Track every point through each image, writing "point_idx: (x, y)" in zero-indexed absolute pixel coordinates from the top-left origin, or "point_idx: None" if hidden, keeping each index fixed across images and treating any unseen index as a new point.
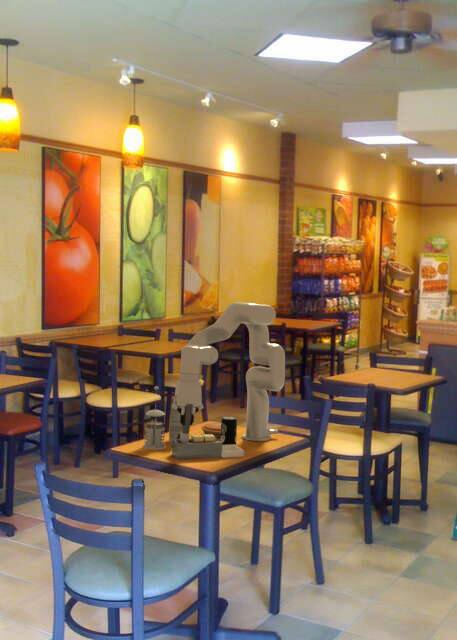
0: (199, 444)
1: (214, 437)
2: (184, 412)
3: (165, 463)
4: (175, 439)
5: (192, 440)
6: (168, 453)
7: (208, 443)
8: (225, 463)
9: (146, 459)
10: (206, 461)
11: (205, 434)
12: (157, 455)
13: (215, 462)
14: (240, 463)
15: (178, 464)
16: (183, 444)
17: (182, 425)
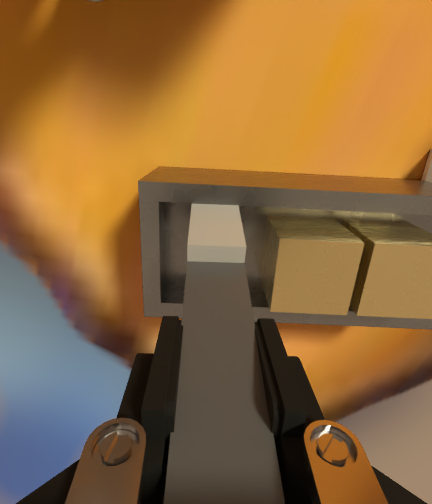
0: (287, 318)
1: (425, 313)
2: (166, 500)
3: (90, 319)
4: (161, 186)
5: (269, 263)
6: (145, 133)
7: (347, 323)
8: (347, 370)
9: (4, 235)
10: (284, 328)
11: (403, 246)
12: (72, 166)
13: (315, 349)
14: (407, 382)
15: (144, 344)
16: (181, 316)
17: (183, 308)
